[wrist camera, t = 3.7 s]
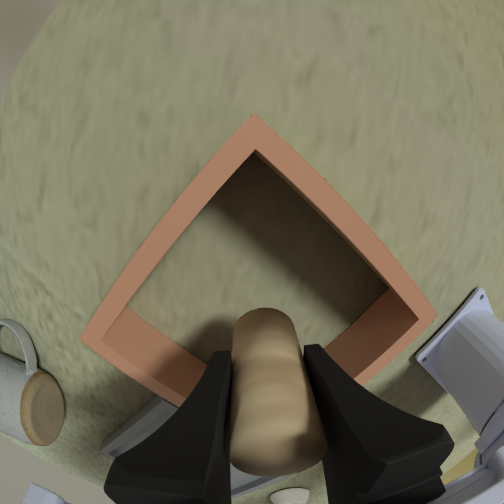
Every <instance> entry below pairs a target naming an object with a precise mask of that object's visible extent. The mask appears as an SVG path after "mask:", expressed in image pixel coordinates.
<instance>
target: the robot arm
mask: <svg viewBox="0 0 504 504" xmlns="http://www.w3.org/2000/svg"><path fill="white" fill-rule="evenodd" d="M415 358H416V360H417V361H418V362H419V363H420V364H421V365H422V367H423V368H424V369H425V370H426V371H427V372H428V373H429V374H430V375H431V376H432V377H433V378H434V379H435V380H436V381H437V382H438V383H439V384H440V385H441V387H442V388H443V389H444V390H445V391H446V392H447V393H450V394H451V395H452V397H453V398H454V399H455V401H456V402H457V404H458V405H459V406H460V408H461V409H462V411H463V412H464V414H465V415H466V416H467V418H468V419H469V421H470V422H471V424H472V425H473V427H474V428H475V430H476V431H477V433H478V434H479V436H480V438H479V439H478V440H477V441H476V442H475V446H476V448H477V449H478V451H479V452H478V453H477V455H476V457H475V462H474V469H473V470H472V471H470V472H468V473H466V474H465V475H463V476H461V477H459V478H457V479H456V480H454V481H452V482H450V483H448V484H446V485H443V483H442V481H441V479H440V476H441V475H442V471H441V469H440V466H441V465H442V463H443V462H444V461H445V460H446V458H447V457H448V456H449V455H450V453H451V452H452V450H453V448H454V442H453V440H452V438H451V437H450V435H449V433H448V431H447V430H446V429H445V427H444V426H443V425H442V424H438V423H435V422H431V421H428V420H424V419H421V418H419V417H416V416H413V415H411V414H408V413H406V412H404V411H402V410H400V409H398V408H396V407H394V406H392V405H390V404H388V403H386V402H385V401H383V400H381V399H380V398H378V397H376V396H375V395H373V394H372V393H371V392H369V391H368V390H366V389H365V388H364V387H362V386H361V385H360V384H359V383H358V382H356V381H355V380H354V379H353V378H352V377H351V376H349V375H348V374H347V373H346V372H345V371H344V370H343V369H342V368H341V367H340V366H339V365H338V364H337V363H336V362H335V361H334V360H333V359H332V358H331V357H330V356H329V355H328V353H327V352H326V351H325V350H324V349H323V348H322V347H321V346H320V345H319V344H313V345H304V354H303V359H304V362H305V366H306V369H307V373H308V376H309V380H310V383H311V387H312V390H313V394H314V398H315V401H316V405H317V408H318V412H319V416H320V419H321V423H322V427H323V430H324V434H325V438H326V441H327V445H328V451H327V453H326V455H325V457H324V458H323V459H322V462H323V468H324V474H325V480H326V487H327V495H328V503H329V504H504V324H503V323H502V322H501V321H500V320H498V319H497V318H496V317H495V316H494V314H493V311H492V309H491V306H490V304H489V301H488V299H487V296H486V294H485V292H484V289H483V288H482V287H477V288H476V290H475V291H474V292H473V293H472V294H471V296H470V297H469V298H468V299H467V301H466V302H465V303H464V304H463V305H462V306H461V308H460V309H459V310H458V311H457V312H456V313H455V314H454V316H453V317H452V318H451V319H450V320H449V321H448V322H447V323H446V324H445V325H444V326H443V328H442V329H441V330H440V331H439V332H438V333H437V334H436V335H435V336H434V337H433V338H432V339H431V340H430V341H429V342H428V343H427V344H426V345H425V346H424V347H423V348H422V349H421V350H420V351H419V352H418V353H417V354H416V356H415ZM231 382H232V359H231V351H216V352H214V353H213V356H212V358H211V360H210V362H209V364H208V366H207V368H206V370H205V371H204V373H203V375H202V377H201V378H200V380H199V381H198V383H197V385H196V386H195V388H194V389H193V390H192V392H191V393H190V394H189V396H188V397H187V399H186V400H185V401H184V402H183V404H182V405H181V406H180V407H179V408H178V409H177V411H176V412H175V413H174V414H173V415H172V416H171V417H170V418H169V419H168V420H167V421H166V422H165V423H164V424H163V425H162V426H161V427H159V428H158V429H157V430H156V431H155V432H153V433H152V434H151V435H150V436H148V437H147V438H146V439H144V440H143V441H142V442H140V443H139V444H137V445H136V446H134V447H133V448H131V449H129V450H128V451H126V452H124V453H123V454H121V455H119V456H117V457H115V459H114V461H113V463H112V465H111V467H110V469H109V472H108V475H107V478H106V482H105V485H104V491H105V493H106V494H107V495H108V497H109V498H110V499H112V500H113V501H114V502H115V503H116V504H231V472H230V457H229V456H230V412H231ZM22 504H70V503H67V502H65V500H64V499H63V498H61V497H60V496H59V495H57V494H56V493H54V492H52V491H50V490H48V489H46V488H43V487H41V486H39V485H37V484H35V483H33V482H32V483H30V485H29V487H28V489H27V492H26V494H25V497H24V499H23V502H22Z"/></svg>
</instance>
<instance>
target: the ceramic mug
mask: <svg viewBox="0 0 504 504" xmlns="http://www.w3.org/2000/svg"><path fill="white" fill-rule="evenodd" d="M1 325H2V326H5V327H7V328H9V329H10V330H11V331H12V332H13V333H14V334H15V335H16V337H17V338H18V340H19V342H20V344H21V346H22V349H23V352H24V357H25V362H26V363H23V362H20V361H18V360H16V359H14V358H11V357H9V356H7V355H4V354H2V353H0V432H2V433H4V434H6V435H9V436H11V437H13V438H16V439H18V440H20V441H22V442H25V443H27V444H32V445H37V446H47V445H50V444H51V443H53V442H54V441H55V440H56V438H57V437H58V436H59V434H60V432H61V429H62V426H63V421H64V400H63V396H62V393H61V390H60V388H59V385H58V384H57V382H56V381H55V379H54V378H53V377H52V376H51V375H49V374H48V373H46V372H44V371H42V370H41V369H39V368H37V360H36V353H35V351H34V347H33V343H32V341H31V339H30V337H29V335H28V333H27V332H26V331H25V330H24V328H23V327H22V326H21V325H20V324H18V323H17V322H15V321H13V320H11V319H0V326H1Z"/></svg>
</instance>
